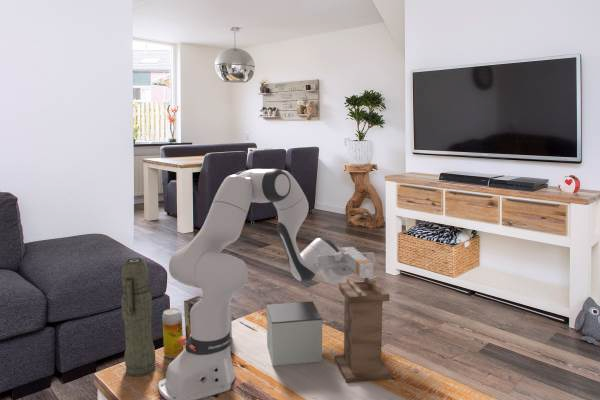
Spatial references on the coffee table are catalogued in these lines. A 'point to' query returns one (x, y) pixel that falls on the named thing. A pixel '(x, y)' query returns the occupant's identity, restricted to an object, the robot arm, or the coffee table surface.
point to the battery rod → (357, 262)
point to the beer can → (172, 332)
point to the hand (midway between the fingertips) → (350, 255)
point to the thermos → (137, 318)
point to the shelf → (294, 333)
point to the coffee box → (187, 307)
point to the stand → (362, 332)
